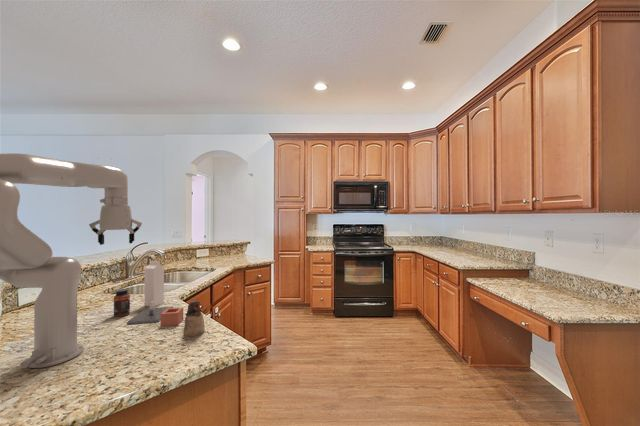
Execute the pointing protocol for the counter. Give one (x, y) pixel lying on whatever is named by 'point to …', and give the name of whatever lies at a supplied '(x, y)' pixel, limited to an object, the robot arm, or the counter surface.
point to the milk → (154, 283)
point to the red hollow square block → (171, 316)
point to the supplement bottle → (121, 303)
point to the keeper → (148, 315)
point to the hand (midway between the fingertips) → (116, 243)
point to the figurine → (194, 320)
